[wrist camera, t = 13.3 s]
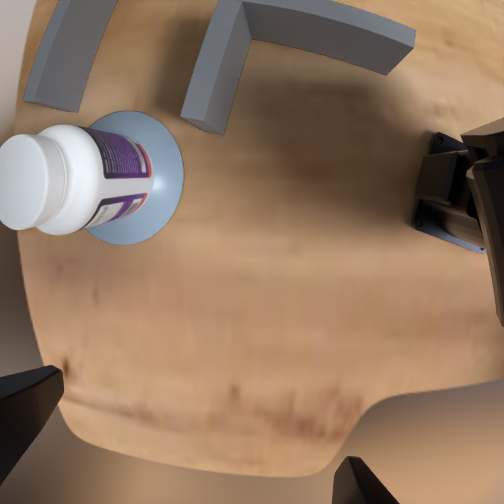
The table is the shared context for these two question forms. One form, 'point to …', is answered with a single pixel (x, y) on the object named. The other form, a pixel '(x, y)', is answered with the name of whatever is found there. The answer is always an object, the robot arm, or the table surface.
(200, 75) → the channel
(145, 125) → the pad
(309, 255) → the table surface
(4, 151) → the pill bottle
